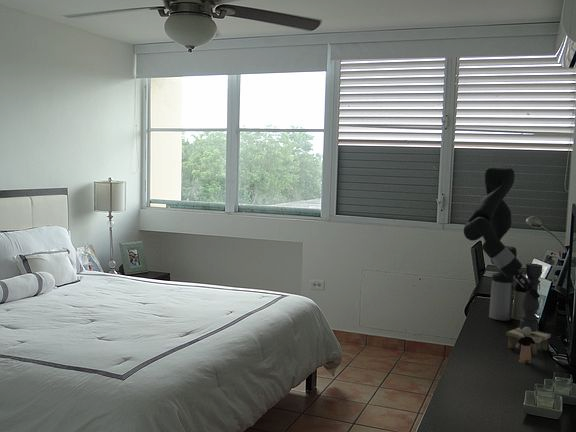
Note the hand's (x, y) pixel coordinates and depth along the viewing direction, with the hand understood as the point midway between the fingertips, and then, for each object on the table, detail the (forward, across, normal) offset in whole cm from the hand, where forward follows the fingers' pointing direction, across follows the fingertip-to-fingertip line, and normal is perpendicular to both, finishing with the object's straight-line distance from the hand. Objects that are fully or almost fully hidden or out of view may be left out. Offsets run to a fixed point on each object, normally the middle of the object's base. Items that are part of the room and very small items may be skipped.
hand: (537, 296), depth 229 cm
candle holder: (+8, 0, +11) cm, 13 cm away
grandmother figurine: (+11, -18, +18) cm, 28 cm away
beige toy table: (+13, 0, +16) cm, 21 cm away
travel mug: (+16, +48, +14) cm, 52 cm away
